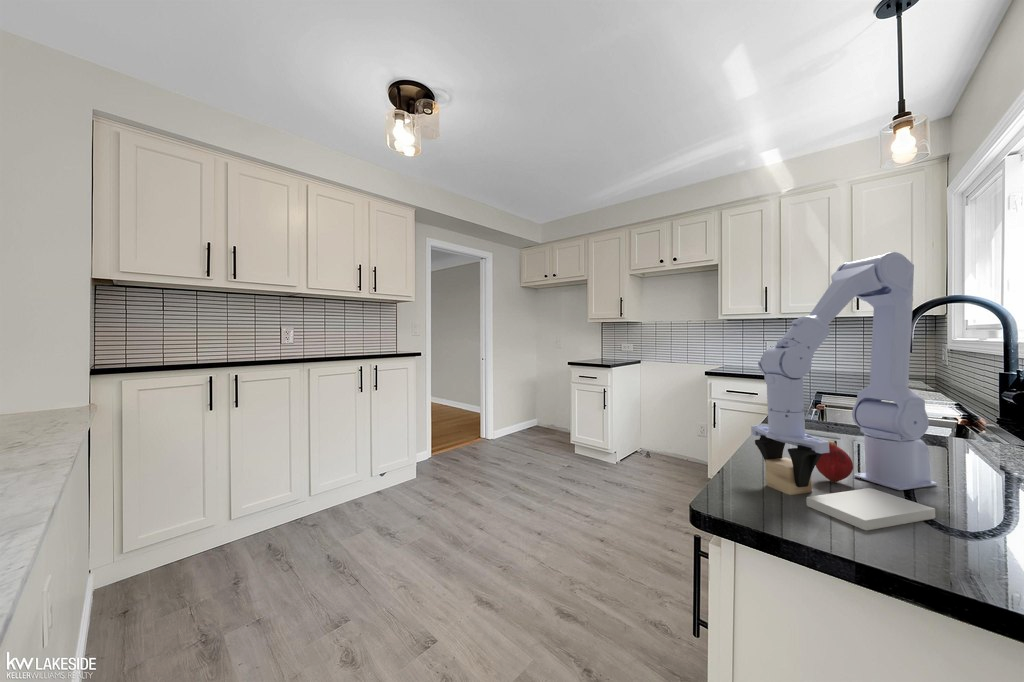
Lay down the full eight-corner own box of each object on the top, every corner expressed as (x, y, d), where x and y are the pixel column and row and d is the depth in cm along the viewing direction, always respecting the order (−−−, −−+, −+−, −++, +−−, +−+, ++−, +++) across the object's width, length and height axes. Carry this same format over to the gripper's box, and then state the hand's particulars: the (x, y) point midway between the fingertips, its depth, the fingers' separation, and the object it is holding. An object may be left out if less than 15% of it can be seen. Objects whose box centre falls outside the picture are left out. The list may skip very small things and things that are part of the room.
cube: (787, 482, 76) (786, 457, 76) (811, 491, 71) (810, 465, 71) (766, 485, 75) (765, 459, 75) (789, 495, 70) (788, 467, 70)
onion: (861, 488, 72) (859, 445, 72) (826, 487, 73) (824, 445, 73) (841, 477, 78) (839, 438, 78) (809, 476, 79) (807, 437, 79)
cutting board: (870, 496, 68) (870, 487, 68) (935, 518, 60) (935, 508, 60) (806, 505, 65) (806, 497, 65) (865, 530, 57) (865, 520, 57)
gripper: (737, 405, 79) (740, 471, 79) (804, 418, 65) (808, 498, 65) (766, 403, 81) (768, 467, 81) (837, 415, 67) (840, 493, 67)
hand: (788, 481), depth 73 cm, fingers closed on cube, 5 cm apart
